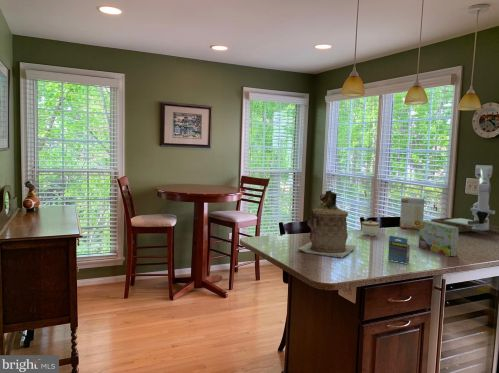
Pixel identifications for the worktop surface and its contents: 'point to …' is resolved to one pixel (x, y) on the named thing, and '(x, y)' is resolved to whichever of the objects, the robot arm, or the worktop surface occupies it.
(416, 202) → the cracker box
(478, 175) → the robot arm
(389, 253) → the label tape box
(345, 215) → the cookie jar
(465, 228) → the crate
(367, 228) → the lidded jar
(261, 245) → the worktop surface
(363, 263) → the worktop surface
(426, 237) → the snack box
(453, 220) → the lid
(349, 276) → the worktop surface
